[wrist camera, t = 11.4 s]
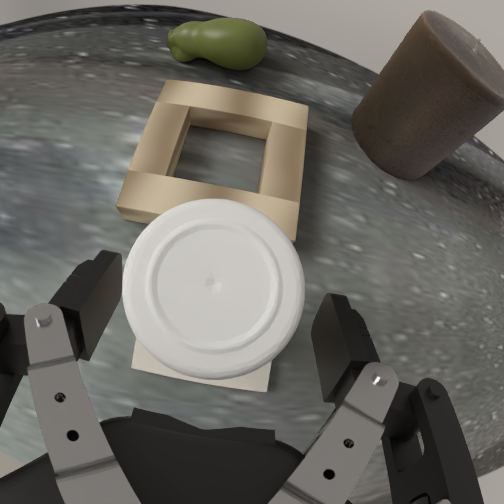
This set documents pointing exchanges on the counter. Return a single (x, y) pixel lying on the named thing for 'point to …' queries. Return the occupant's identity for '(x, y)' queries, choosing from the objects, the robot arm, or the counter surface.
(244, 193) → the collar
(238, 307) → the sprinkles bottle
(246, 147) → the counter surface
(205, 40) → the pear
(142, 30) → the counter surface
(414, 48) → the pillar candle
